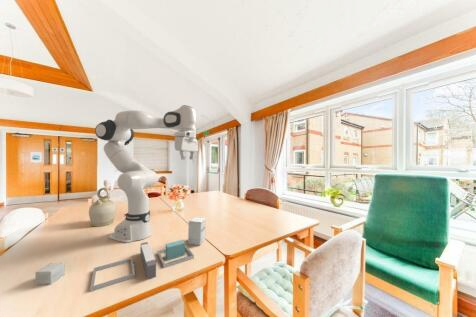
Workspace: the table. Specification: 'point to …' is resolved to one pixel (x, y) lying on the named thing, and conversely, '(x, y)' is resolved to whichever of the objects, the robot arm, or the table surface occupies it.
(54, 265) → the small box
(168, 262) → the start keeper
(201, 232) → the supplement box
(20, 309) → the table surface
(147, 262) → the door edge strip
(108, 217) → the jug
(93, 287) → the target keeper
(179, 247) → the teal rectangular block
